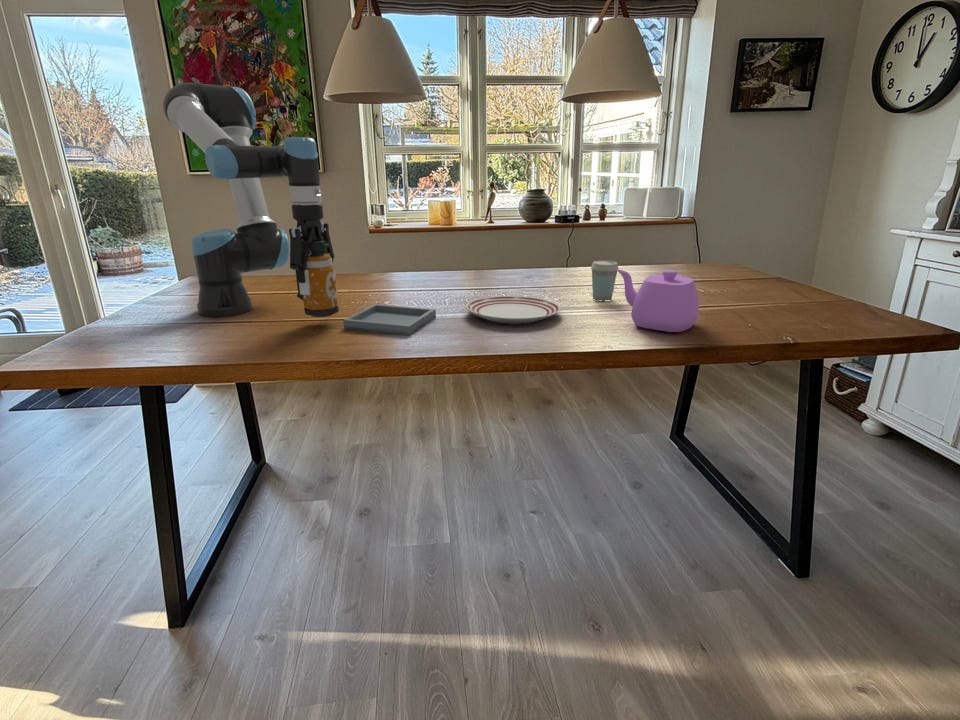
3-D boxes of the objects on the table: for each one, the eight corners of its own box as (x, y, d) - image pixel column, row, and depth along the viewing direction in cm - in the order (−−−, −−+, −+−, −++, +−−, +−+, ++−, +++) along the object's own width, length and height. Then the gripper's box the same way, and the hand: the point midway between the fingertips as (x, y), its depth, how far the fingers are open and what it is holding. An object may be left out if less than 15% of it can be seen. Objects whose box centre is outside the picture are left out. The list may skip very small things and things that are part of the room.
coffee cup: (614, 303, 163) (617, 265, 159) (586, 301, 166) (589, 264, 162) (616, 297, 171) (620, 261, 167) (590, 295, 173) (593, 259, 169)
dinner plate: (490, 300, 169) (490, 290, 168) (571, 309, 158) (572, 299, 157) (448, 322, 146) (448, 310, 145) (540, 335, 135) (541, 323, 134)
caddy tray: (343, 328, 140) (343, 319, 139) (375, 312, 155) (375, 304, 154) (409, 335, 134) (409, 326, 133) (435, 317, 150) (435, 309, 149)
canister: (329, 319, 138) (321, 243, 130) (291, 316, 140) (281, 241, 133) (344, 310, 146) (338, 237, 139) (308, 307, 148) (299, 236, 141)
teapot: (706, 320, 147) (714, 266, 141) (685, 339, 130) (694, 280, 125) (627, 308, 159) (632, 258, 154) (600, 324, 143) (604, 270, 137)
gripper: (292, 207, 122) (303, 301, 130) (342, 200, 141) (349, 282, 149) (265, 206, 124) (278, 298, 132) (319, 199, 143) (327, 280, 151)
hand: (316, 290), depth 141 cm, fingers closed on canister, 9 cm apart
